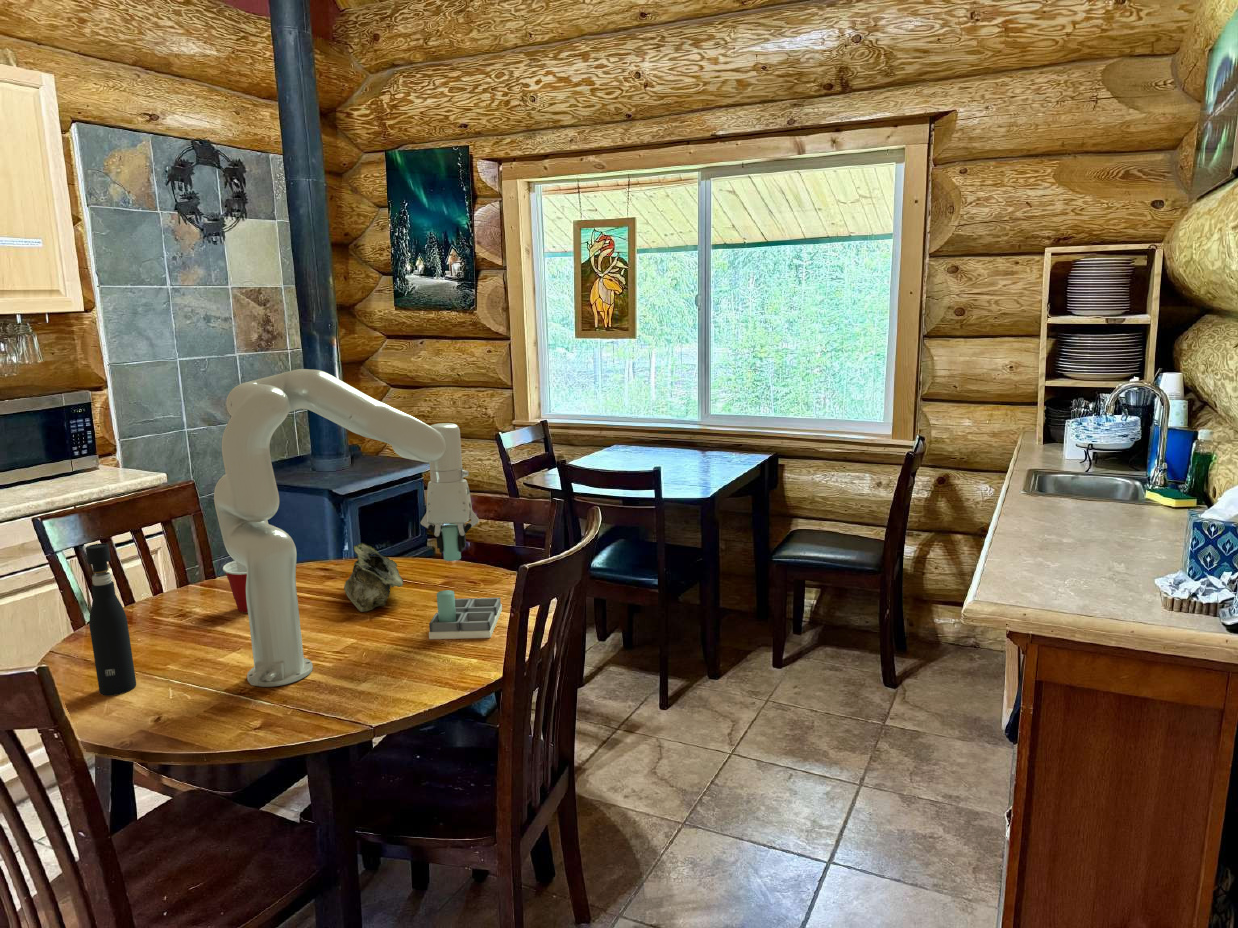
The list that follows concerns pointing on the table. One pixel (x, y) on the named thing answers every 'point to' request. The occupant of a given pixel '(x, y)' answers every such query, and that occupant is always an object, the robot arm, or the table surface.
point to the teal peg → (450, 542)
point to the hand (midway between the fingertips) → (451, 549)
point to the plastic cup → (237, 583)
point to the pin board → (464, 617)
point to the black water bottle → (109, 628)
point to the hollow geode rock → (371, 579)
